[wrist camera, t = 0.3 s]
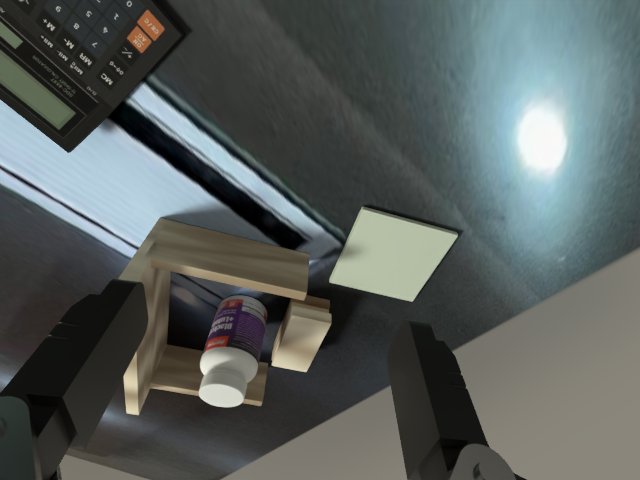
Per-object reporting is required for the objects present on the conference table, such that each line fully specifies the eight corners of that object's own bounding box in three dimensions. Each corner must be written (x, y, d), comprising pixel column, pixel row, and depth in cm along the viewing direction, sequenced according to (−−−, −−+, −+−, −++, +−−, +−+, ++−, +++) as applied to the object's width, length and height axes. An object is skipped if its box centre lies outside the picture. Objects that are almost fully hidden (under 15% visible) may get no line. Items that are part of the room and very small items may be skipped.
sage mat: (362, 206, 29) (362, 209, 29) (456, 232, 31) (458, 235, 30) (329, 278, 35) (329, 282, 34) (411, 298, 36) (412, 301, 36)
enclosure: (159, 217, 30) (116, 282, 24) (309, 254, 33) (305, 321, 26) (156, 347, 42) (126, 413, 36) (266, 367, 45) (256, 432, 38)
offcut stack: (294, 287, 36) (291, 315, 33) (331, 296, 37) (331, 323, 34) (273, 342, 42) (270, 369, 39) (305, 348, 42) (304, 375, 40)
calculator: (185, 33, 22) (169, 40, 20) (88, 139, 27) (64, 156, 24) (39, -136, 18) (-5, -153, 15) (-49, 26, 22) (-94, 32, 20)
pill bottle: (234, 285, 36) (208, 372, 28) (277, 308, 38) (264, 395, 30) (209, 312, 38) (179, 398, 31) (250, 332, 40) (232, 417, 33)
